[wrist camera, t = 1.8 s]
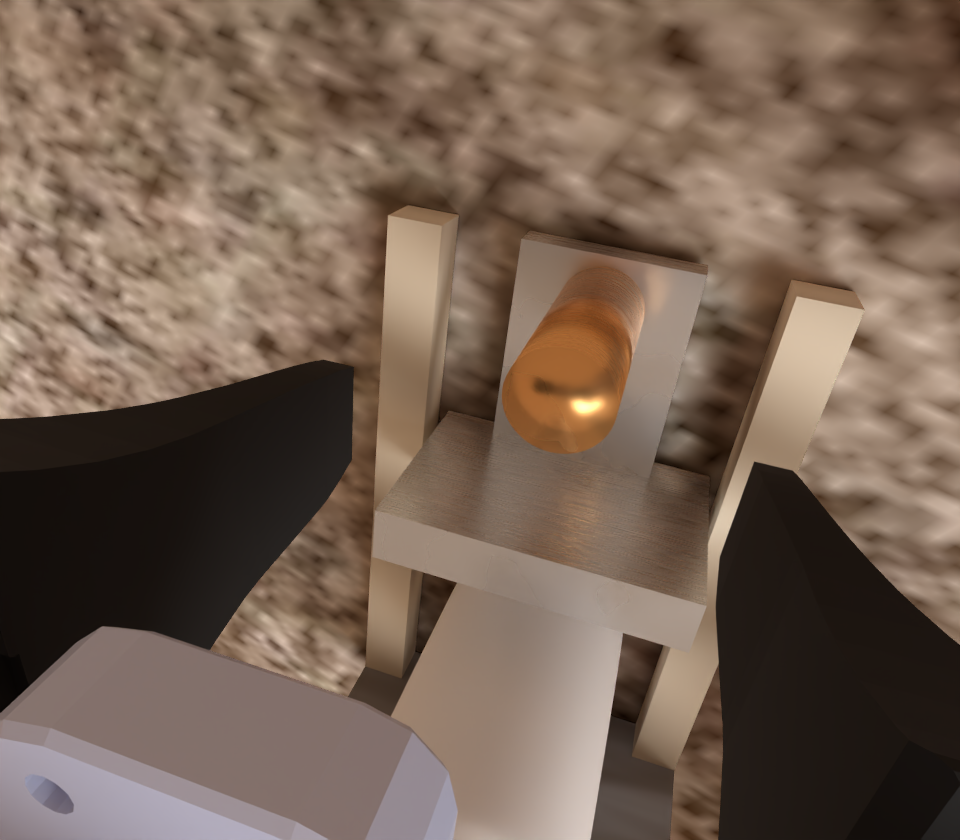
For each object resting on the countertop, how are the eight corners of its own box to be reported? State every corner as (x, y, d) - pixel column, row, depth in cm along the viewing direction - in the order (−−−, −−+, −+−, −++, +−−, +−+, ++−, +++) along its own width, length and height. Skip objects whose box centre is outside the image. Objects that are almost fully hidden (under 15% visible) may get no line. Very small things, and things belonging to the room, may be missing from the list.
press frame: (408, 205, 21) (285, 267, 15) (854, 291, 18) (919, 407, 12) (378, 665, 31) (297, 812, 25) (666, 762, 28) (652, 951, 22)
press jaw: (469, 218, 20) (367, 289, 14) (776, 278, 19) (803, 386, 13) (444, 450, 24) (356, 579, 18) (695, 517, 23) (687, 683, 17)
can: (425, 578, 28) (255, 886, 17) (553, 511, 24) (436, 841, 14) (526, 690, 29) (422, 1040, 19) (660, 640, 26) (622, 1030, 15)
